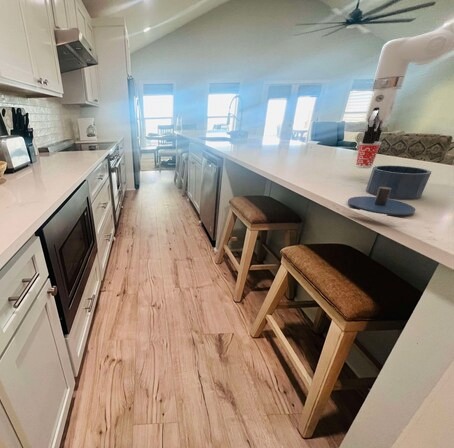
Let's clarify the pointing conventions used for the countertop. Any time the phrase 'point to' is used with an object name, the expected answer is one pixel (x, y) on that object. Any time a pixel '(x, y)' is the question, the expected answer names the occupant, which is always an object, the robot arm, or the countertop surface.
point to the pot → (399, 181)
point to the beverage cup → (367, 154)
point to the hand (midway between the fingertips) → (370, 141)
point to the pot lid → (381, 204)
